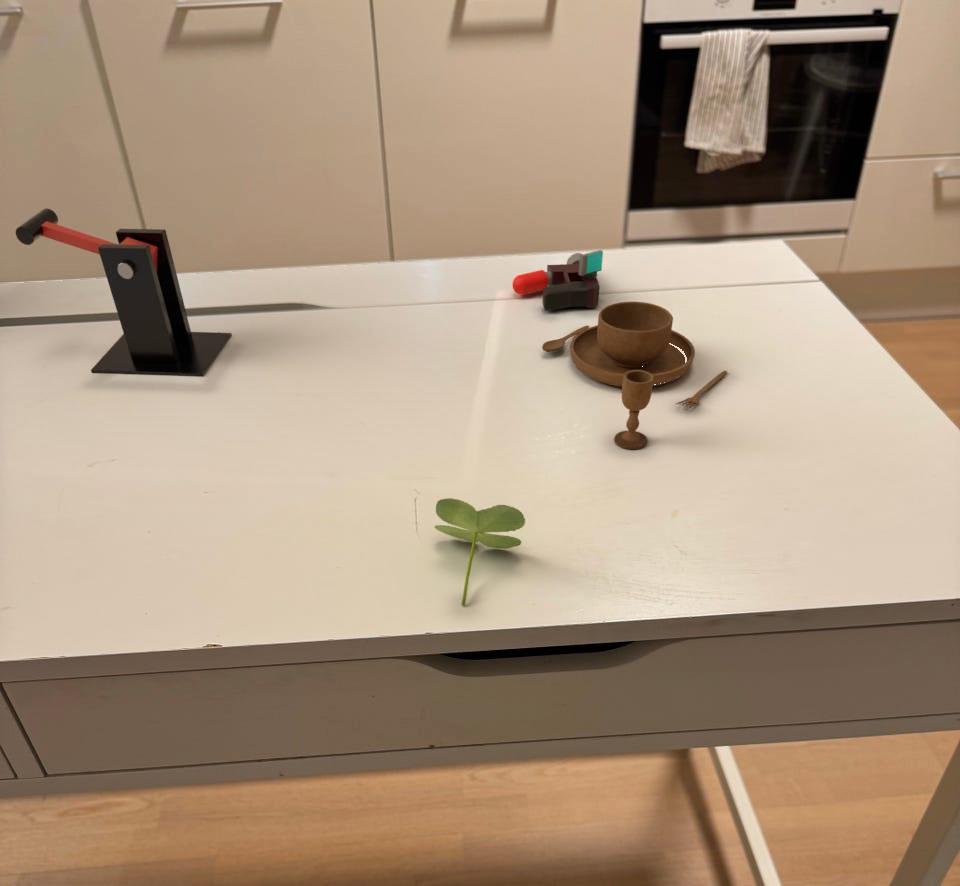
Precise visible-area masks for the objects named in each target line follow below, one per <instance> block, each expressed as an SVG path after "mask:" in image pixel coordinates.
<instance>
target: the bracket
mask: <svg viewBox="0 0 960 886" xmlns="http://www.w3.org/2000/svg"><path fill="white" fill-rule="evenodd" d="M115 235H116V238H117V242H118V243H115V244H102V245H101V246H100V247H98V250H99V254H100V255H99V254H98V255H99V256H100V260H101V264H102V266H103V270H104V273H105V277H106V279H107V283H108V286H109V289H110V293H111V296H112V300H113V302H114V306H115V310H116V313H117V315H118V319H119V324H120V325H121V329H122V332H123V333H122V335H120V337H119V339H117V340H116V341H115V342H114V344H113V345H112V346H111V347H110V348H109V349H108V350H107V351H106V352H105V354H104V355H103V356H102V357H101V358H100V359H99V360H98V361H97V362H96V364H95V365H94V366H93V367H92V368H91V369H90V372H91V374H105V375H109V374H110V375H137V376H138V375H139V376H140V375H141V376H166V377H167V376H169V377H195V378H196V377H198V378H199V377H200V378H203V377H205V375H206V374H207V373H208V371H209V369H210V368H211V366H212V365H213V364H214V362H215V361H216V359H217V358H218V356H220V353H221V352H222V351H223V349H224V348H225V346H226V345H227V343H228V342H229V340H231V338H232V332H212V331H211V332H210V331H209V332H208V331H191V327H190V323H189V317H188V315H187V311H186V307H185V303H184V302H185V301H184V298H183V294H182V291H181V286H180V283H179V278H178V274H177V271H176V266H175V263H174V259H173V254H172V250H171V247H170V242H169V238H168V234H167V230H166V229H163V228H161V229H160V228H159V229H158V228H157V229H155V228H154V229H153V228H119V229H117V230H116V231H115ZM127 237H128V238H131V239H135V240H138V241H141V242H144V243H147V244H150V245H153V246H156V247H157V248H158V250H157V272H156V269H155V265H154V261H153V257H152V253H151V250H150V246H149V245H119V244H120V243H121V242H123V241H124V240H125V239H126V238H127Z"/></svg>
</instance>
